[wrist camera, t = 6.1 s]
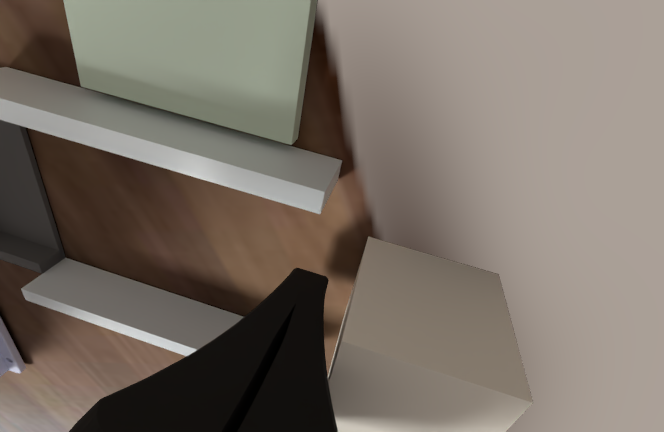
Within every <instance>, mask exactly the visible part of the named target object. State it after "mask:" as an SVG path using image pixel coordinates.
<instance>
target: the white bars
mask: <svg viewBox="0 0 664 432" xmlns="http://www.w3.org/2000/svg"><path fill="white" fill-rule="evenodd" d="M0 120H3V121H6V122H10V123H13V124H16V125H20V126H23V127H26V128H30V129H33V130H37V131H40V132H43V133H47V134H50V135H54V136H57V137H60V138H64V139H67V140H70V141H74V142H77V143H81V144H84V145H87V146H91V147H94V148H98V149H101V150H104V151H108V152H111V153H114V154H118V155H121V156H125V157H128V158H131V159H135V160H138V161H142V162H145V163H148V164H152V165H155V166H158V167H162V168H165V169H169V170H172V171H175V172H179V173H182V174H185V175H189V176H192V177H196V178H199V179H202V180H206V181H209V182H213V183H216V184H219V185H223V186H226V187H229V188H233V189H236V190H240V191H243V192H246V193H250V194H253V195H257V196H260V197H263V198H267V199H270V200H273V201H277V202H280V203H284V204H287V205H290V206H294V207H297V208H301V209H304V210H307V211H311V212H314V213H317V214H321V212H322V210H323V208H324V206H325V204H326V202H327V200H328V198H329V196H330V194H331V192H332V190H333V188H334V187H335V185H336V183H337V181H338V177H339V173H340V168H341V164H342V160H339V159H336V158H332V157H328V156H325V155H321V154H318V153H314V152H310V151H307V150H303V149H300V148H296V147H292V146H289V145H285V144H282V143H278V142H275V141H271V140H267V139H264V138H260V137H257V136H253V135H249V134H246V133H242V132H239V131H235V130H231V129H228V128H224V127H221V126H217V125H213V124H210V123H206V122H203V121H199V120H196V119H192V118H188V117H185V116H181V115H178V114H174V113H170V112H167V111H163V110H160V109H156V108H152V107H149V106H145V105H142V104H138V103H135V102H131V101H127V100H124V99H120V98H117V97H113V96H109V95H106V94H102V93H99V92H95V91H91V90H88V89H84V88H81V87H77V86H73V85H70V84H66V83H63V82H59V81H56V80H52V79H48V78H45V77H41V76H38V75H34V74H30V73H27V72H23V71H20V70H16V69H12V68H9V67H2V68H0ZM21 291H22V293H23V295H24V297H25V300H27V301H30V302H33V303H36V304H38V305H41V306H44V307H47V308H50V309H53V310H56V311H59V312H61V313H64V314H67V315H70V316H73V317H76V318H79V319H81V320H84V321H87V322H90V323H93V324H96V325H99V326H102V327H104V328H107V329H110V330H113V331H116V332H119V333H122V334H124V335H127V336H130V337H133V338H136V339H139V340H142V341H145V342H147V343H150V344H153V345H156V346H159V347H162V348H165V349H168V350H170V351H173V352H176V353H179V354H182V355H185V356H188V355H190V354H192V353H193V352H195V351H196V350H198V349H200V348H201V347H203V346H204V345H206V344H207V343H209V342H211V341H212V340H214V339H215V338H217V337H218V336H219V335H221V334H222V333H224V332H225V331H227V330H228V329H229V328H231V327H232V326H233V325H235V324H236V323H237V322H239V321H240V320H241V319H242V318H243V316H240V315H237V314H234V313H231V312H228V311H225V310H222V309H219V308H216V307H213V306H210V305H207V304H204V303H201V302H198V301H195V300H192V299H189V298H186V297H183V296H180V295H177V294H174V293H171V292H168V291H165V290H162V289H159V288H156V287H153V286H150V285H147V284H144V283H141V282H138V281H135V280H132V279H129V278H125V277H122V276H119V275H116V274H113V273H110V272H107V271H104V270H101V269H98V268H95V267H92V266H89V265H86V264H83V263H80V262H77V261H74V260H71V259H68V258H64V259H63V260H62V261H60V262H59V263H57V264H56V265H54V266H53V267H51V268H50V269H49V270H47V271H46V272H44V273H43V274H41V275H40V276H39V277H37V278H36V279H34V280H33V281H31V282H30V283H28V284H27V285H26V286H24V287H23V288H21Z"/></svg>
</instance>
